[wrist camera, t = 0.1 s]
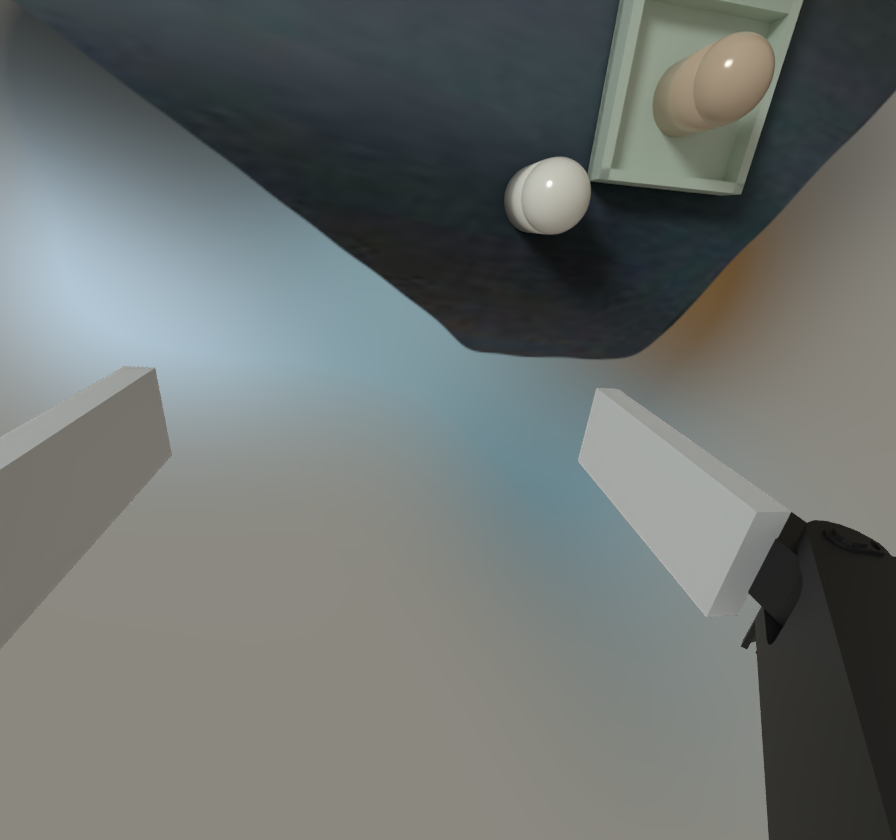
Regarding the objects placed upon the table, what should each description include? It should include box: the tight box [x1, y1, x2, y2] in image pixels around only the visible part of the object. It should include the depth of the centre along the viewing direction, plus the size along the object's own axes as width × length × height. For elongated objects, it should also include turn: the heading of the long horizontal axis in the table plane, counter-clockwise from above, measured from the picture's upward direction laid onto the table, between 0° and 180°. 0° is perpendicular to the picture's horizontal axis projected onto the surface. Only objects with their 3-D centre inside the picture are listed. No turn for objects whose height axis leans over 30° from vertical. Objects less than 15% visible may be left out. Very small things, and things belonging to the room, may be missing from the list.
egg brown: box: [652, 31, 775, 138], centre depth 31 cm, size 5×5×8 cm
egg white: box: [504, 157, 591, 234], centre depth 33 cm, size 5×5×8 cm
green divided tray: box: [588, 0, 803, 196], centre depth 32 cm, size 24×13×2 cm, turn 176°
